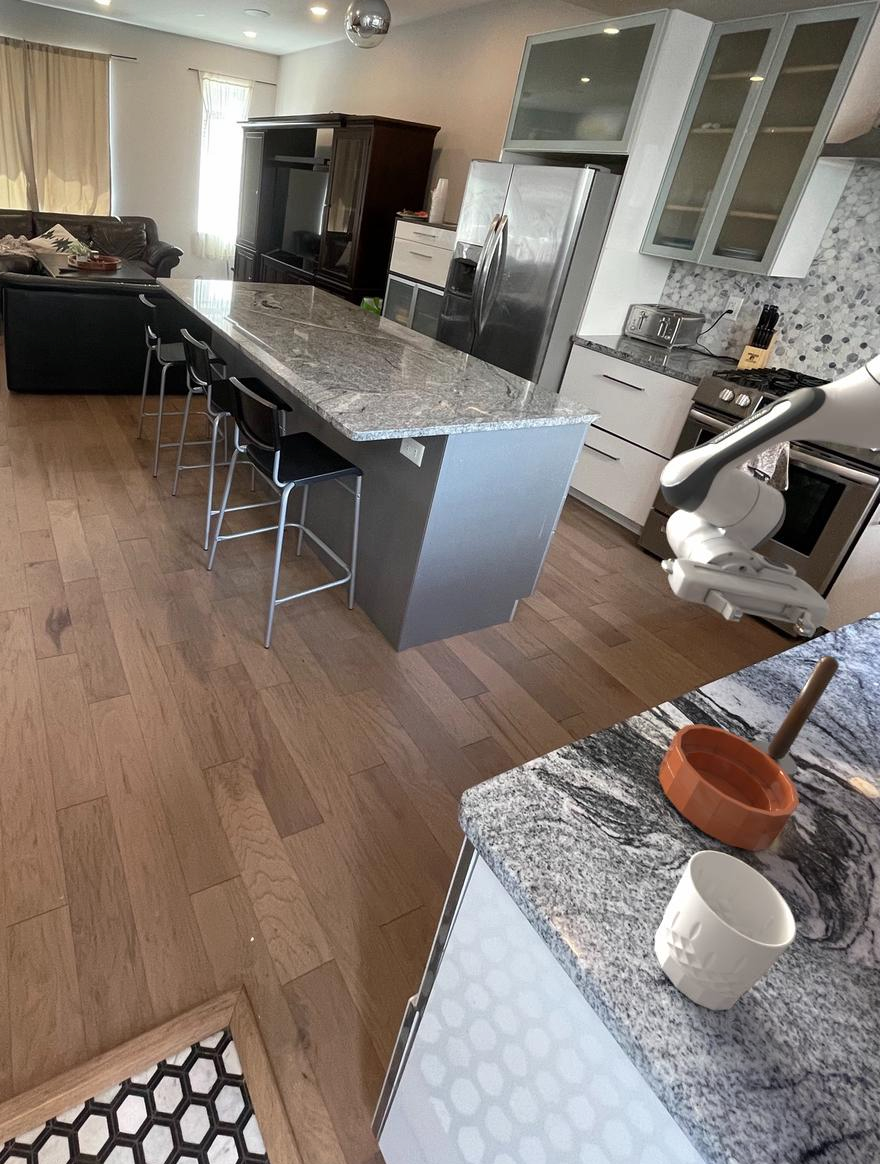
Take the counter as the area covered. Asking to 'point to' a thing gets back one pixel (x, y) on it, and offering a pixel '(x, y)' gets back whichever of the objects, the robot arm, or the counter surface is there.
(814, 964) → the counter surface
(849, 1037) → the counter surface
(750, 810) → the bowl
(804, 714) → the wooden peg on disc
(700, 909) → the white cup
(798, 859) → the counter surface
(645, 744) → the counter surface
